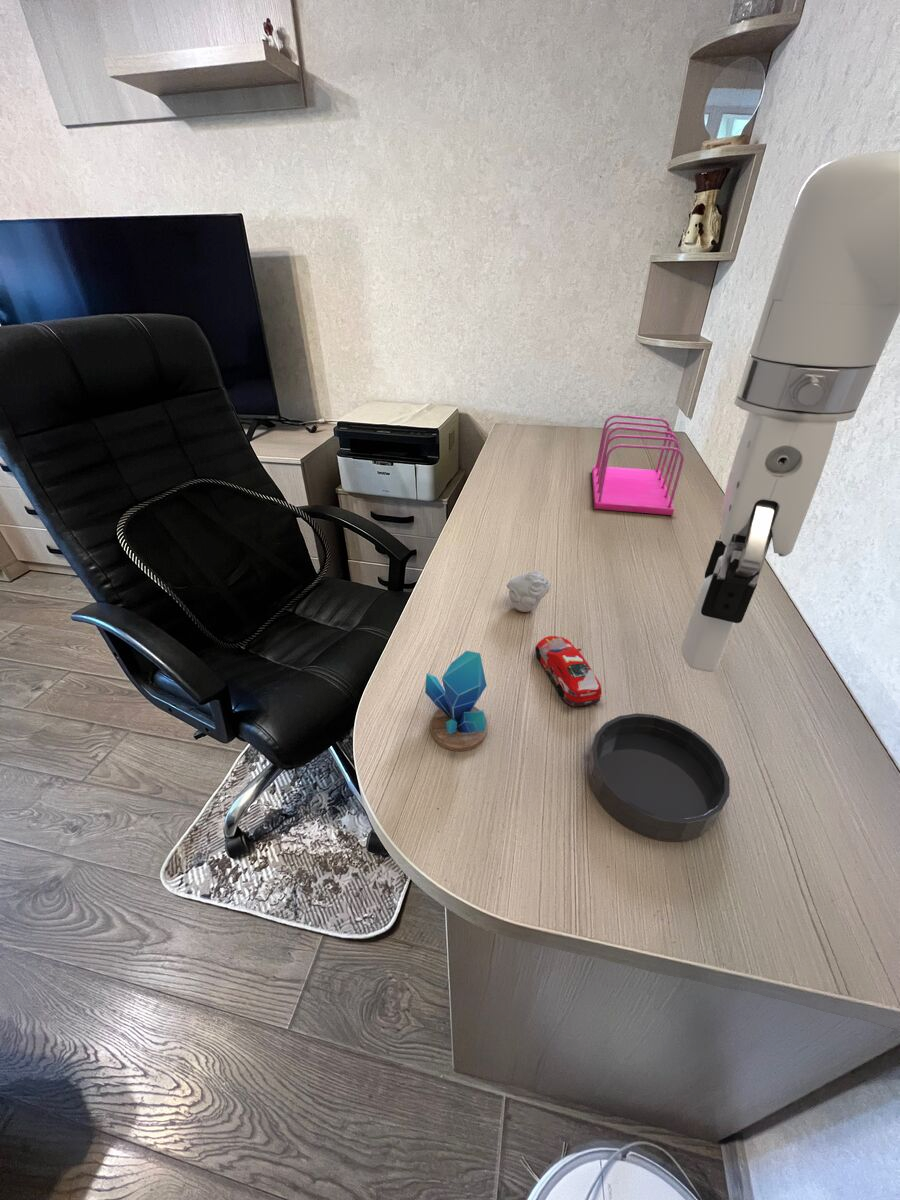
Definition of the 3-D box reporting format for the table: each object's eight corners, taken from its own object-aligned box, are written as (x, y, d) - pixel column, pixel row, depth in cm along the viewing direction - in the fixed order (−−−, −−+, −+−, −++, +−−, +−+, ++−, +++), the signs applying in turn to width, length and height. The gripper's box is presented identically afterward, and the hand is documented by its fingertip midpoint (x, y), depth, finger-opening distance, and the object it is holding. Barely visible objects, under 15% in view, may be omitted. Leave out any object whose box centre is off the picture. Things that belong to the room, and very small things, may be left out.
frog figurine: (545, 622, 80) (550, 586, 76) (502, 616, 82) (505, 580, 78) (548, 601, 85) (553, 566, 81) (507, 596, 87) (510, 561, 83)
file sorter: (658, 477, 133) (673, 416, 125) (672, 516, 113) (692, 447, 104) (591, 471, 136) (602, 412, 127) (593, 509, 116) (606, 442, 107)
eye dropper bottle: (734, 652, 50) (779, 545, 43) (708, 679, 46) (752, 568, 40) (691, 632, 52) (727, 528, 45) (664, 656, 49) (698, 548, 42)
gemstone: (479, 699, 67) (483, 628, 60) (493, 752, 59) (499, 678, 53) (424, 704, 66) (422, 633, 59) (432, 759, 59) (430, 684, 52)
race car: (530, 648, 75) (532, 627, 73) (563, 643, 76) (567, 622, 74) (566, 713, 65) (570, 690, 62) (604, 706, 66) (610, 684, 63)
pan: (720, 757, 59) (729, 737, 57) (718, 865, 49) (729, 845, 47) (600, 718, 64) (605, 699, 62) (575, 809, 53) (580, 789, 51)
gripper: (892, 423, 28) (772, 668, 38) (842, 371, 40) (763, 564, 51) (741, 409, 30) (667, 641, 40) (739, 364, 43) (684, 549, 53)
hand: (721, 597), depth 45 cm, fingers closed on eye dropper bottle, 5 cm apart
